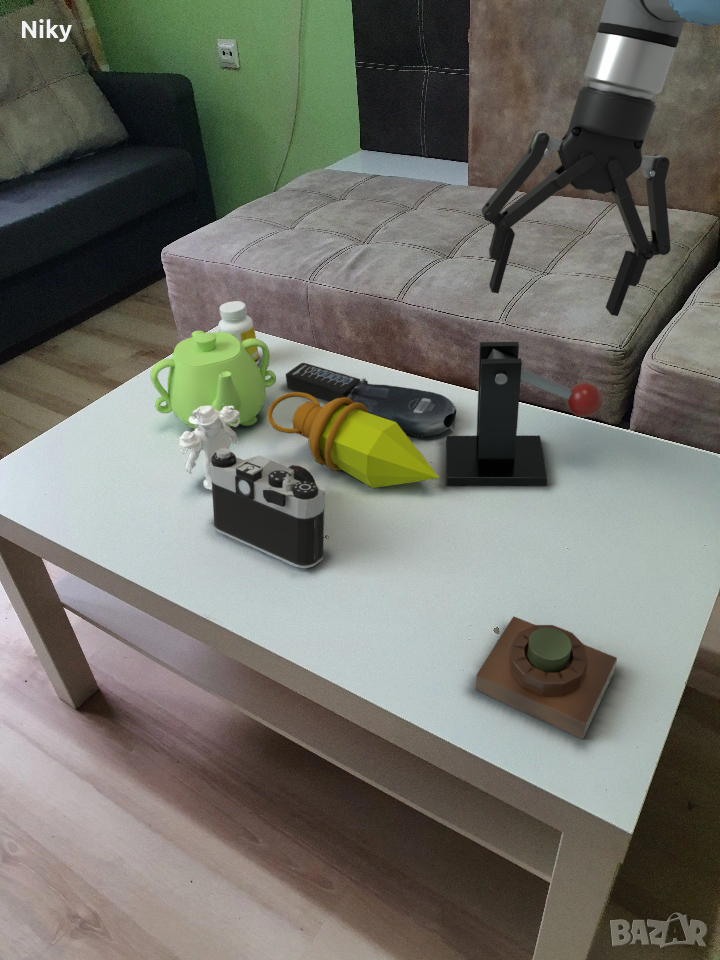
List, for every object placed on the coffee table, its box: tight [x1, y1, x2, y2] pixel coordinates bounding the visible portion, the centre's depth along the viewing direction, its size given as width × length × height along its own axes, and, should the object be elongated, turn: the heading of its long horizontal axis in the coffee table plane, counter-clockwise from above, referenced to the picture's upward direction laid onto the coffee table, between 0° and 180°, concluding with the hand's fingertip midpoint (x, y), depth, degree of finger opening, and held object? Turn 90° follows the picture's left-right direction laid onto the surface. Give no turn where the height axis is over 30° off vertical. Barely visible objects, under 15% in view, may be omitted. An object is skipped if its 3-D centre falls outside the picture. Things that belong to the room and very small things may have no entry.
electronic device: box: [347, 377, 457, 437], centre depth 104 cm, size 9×6×15 cm
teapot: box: [149, 330, 277, 430], centre depth 104 cm, size 16×14×13 cm
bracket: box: [445, 341, 548, 487], centre depth 90 cm, size 12×9×16 cm
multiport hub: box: [285, 362, 361, 402], centre depth 111 cm, size 4×11×2 cm, turn 55°
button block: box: [475, 616, 618, 740], centre depth 67 cm, size 10×8×4 cm
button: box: [528, 627, 571, 672], centre depth 66 cm, size 4×4×2 cm
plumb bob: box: [267, 391, 440, 489], centre depth 94 cm, size 9×9×25 cm
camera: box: [210, 448, 326, 569], centre depth 85 cm, size 15×11×10 cm
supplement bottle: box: [217, 300, 260, 365], centre depth 117 cm, size 5×5×10 cm
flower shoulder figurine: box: [177, 403, 240, 491], centre depth 92 cm, size 9×4×12 cm, turn 142°
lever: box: [487, 349, 603, 418], centre depth 87 cm, size 14×4×4 cm, turn 85°
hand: (552, 301), depth 84 cm, fingers open, 13 cm apart
